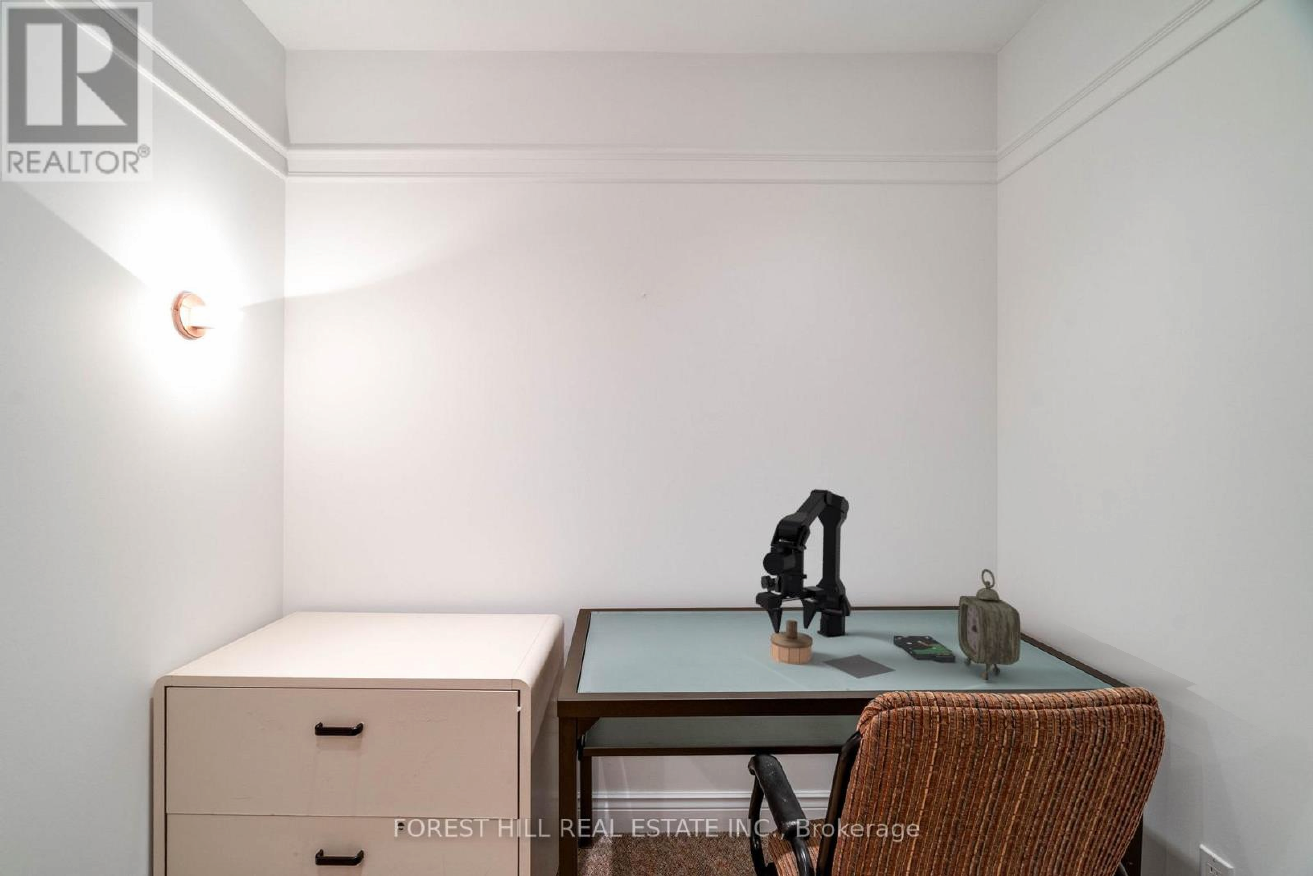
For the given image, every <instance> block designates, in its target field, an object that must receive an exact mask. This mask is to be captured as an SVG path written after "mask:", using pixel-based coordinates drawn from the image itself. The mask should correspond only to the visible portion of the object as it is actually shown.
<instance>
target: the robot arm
mask: <svg viewBox="0 0 1313 876" xmlns="http://www.w3.org/2000/svg"><path fill="white" fill-rule="evenodd" d="M849 509H850V503H849V501H848V500H847V498H846V497H845V496H841V495H839V494H836V493H833V492H832V491H830V490H828V489H818V488H814V489H812V490H811V491H810V493H809V496H808V497H807V498H806V499H805V501H804V502H803V503H802V504H801V505H800V506H799V508H797V510H796V511H794V513H792V514H788V515H785V516H784V517H783V518H781V519H780V520H779V522H778V523H777V524H776V527H775V530H774V533H773V536H772V539H771V541H770V545H769V546H770V551H769V552H768V553H766V554H765V556H764V557H763V559H762V566H763V569H764V570H765V572H766V573H767V574H768V575H763V576H760V577H761V578H760V586H761V588H762V589H764V590H765V589H766V591H762V592H758V593H757V594H756V595H755V604H756V605H758V606H760V608H762V609H765V611H766V612H767V614H768V616H769V619H770V622H771V626H772V628H773V631H774V633H777V634H779V632H780V631H781V623H782V619H783V610H784V609H783V608H782V607H781V606H782V605H783V603H784V602H793V601H798V600H799V601H801V602H800V603H801V605H802V613H803V614H802V617H803V619H802V622H803V624H802V625H803V629H805V630H808V629H809V627H810V625H811V623H812V622H813V619H814V617H815V615H816V614H817V613H820V619H819V630H817V631H816V633H817V634H820V635H822V636H824V637H827V638H837V637H844V636H849V635H850V634H849V633H847V632H846V617H851V612H852V605H851V603H850V601H849V599H848V597H847V593H846V591H847V590H846V586H845V585H844V583H843V582H842V580H841V541H842V540H841V538H842V537H841V533H842V532H841V531H842V526H843V524H844V523H845V522H846V520H847V518H848V513H849ZM817 518H818V520H819V522H820V524H821V526H822V529H823V530H822V568H821V569H822V575H821V576H822V577H821V579H820V581H819V582H818V583H816V584H815V586H814V585H810V586H805V585H804V584H805V583H804V581H805V580H807V579H808V574H807V573H805V550H807V545H806V544H807V541H808V539H809V537H810V536H811V529H810V528H811V525H812V524H813V523H814V521H816V519H817ZM771 576H772V577H773V578H772V577H771ZM777 593H778V594H777Z"/></svg>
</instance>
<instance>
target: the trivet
mask: <svg viewBox="0 0 1313 876" xmlns="http://www.w3.org/2000/svg"><path fill="white" fill-rule="evenodd" d="M822 663H824V664H826V665H829V666H831V667H832V668H834V669H837V670H839V671H840V672H841V671H842V672H843V673H846V674H847V675H849V676H852V677H855V678H857V679H862V678H865V677H866V678H868V677H872V676H877V675H880V674H886V673H890V672H893V671H896V669H893V668H891V667H889V666H886V665H884V664H882V663H880V662H877V661H875V660H873V659H870V658H868V657H865V656H863V655H861V654H856V655H851V656H844V657H841V658H840V657H839V658H835V659H830V660H823V661H822Z"/></svg>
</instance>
